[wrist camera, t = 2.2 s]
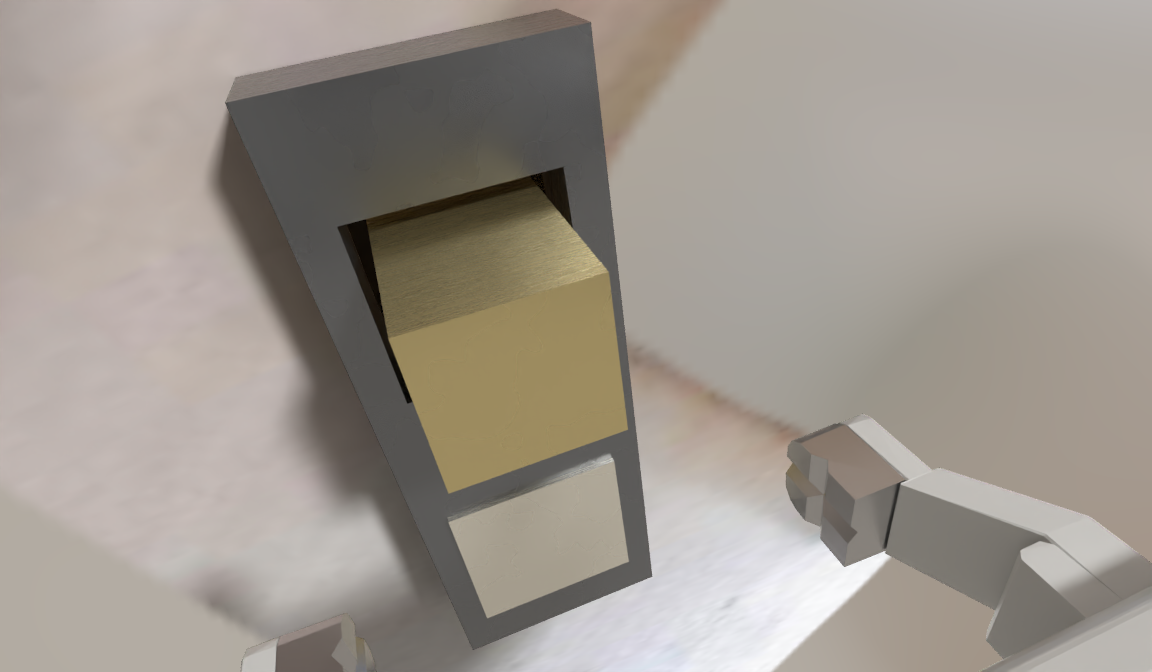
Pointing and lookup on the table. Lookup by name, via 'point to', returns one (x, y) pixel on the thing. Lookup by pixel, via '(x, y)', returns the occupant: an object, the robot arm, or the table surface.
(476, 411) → the tan block
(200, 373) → the table surface
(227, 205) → the table surface
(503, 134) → the plate
